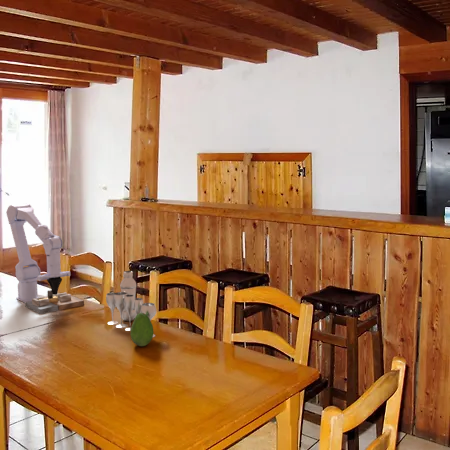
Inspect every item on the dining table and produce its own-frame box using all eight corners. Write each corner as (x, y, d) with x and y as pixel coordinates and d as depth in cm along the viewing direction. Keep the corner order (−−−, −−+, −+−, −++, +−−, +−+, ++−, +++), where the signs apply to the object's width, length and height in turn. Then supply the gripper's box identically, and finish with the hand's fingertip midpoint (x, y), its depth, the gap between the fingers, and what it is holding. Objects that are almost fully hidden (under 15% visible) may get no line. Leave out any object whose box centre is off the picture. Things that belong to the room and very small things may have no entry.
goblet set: (103, 323, 219) (102, 290, 217) (115, 320, 223) (114, 288, 221) (147, 339, 200) (146, 304, 198) (159, 336, 204) (159, 301, 202)
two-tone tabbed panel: (67, 298, 256) (67, 289, 255) (84, 304, 245) (83, 295, 244) (25, 306, 242) (24, 297, 241) (40, 314, 231) (39, 303, 230)
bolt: (55, 300, 245) (55, 289, 244) (58, 301, 243) (57, 290, 242) (38, 303, 239) (37, 292, 239) (40, 304, 238) (40, 293, 237)
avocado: (143, 351, 188) (142, 317, 186) (126, 346, 192) (125, 313, 191) (158, 344, 195) (157, 311, 193) (141, 340, 199) (140, 308, 197)
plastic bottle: (139, 317, 225) (138, 270, 223) (134, 323, 219) (133, 273, 216) (123, 317, 226) (122, 269, 223) (119, 322, 219) (117, 273, 217)
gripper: (42, 267, 233) (43, 298, 235) (73, 263, 243) (74, 292, 245) (34, 265, 238) (36, 295, 240) (65, 260, 248) (66, 290, 250)
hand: (54, 294), depth 243 cm, fingers closed
